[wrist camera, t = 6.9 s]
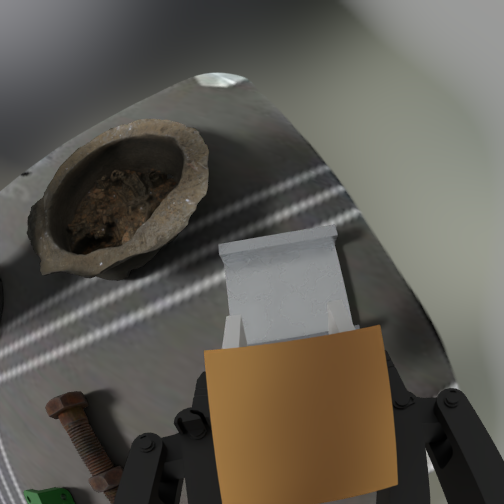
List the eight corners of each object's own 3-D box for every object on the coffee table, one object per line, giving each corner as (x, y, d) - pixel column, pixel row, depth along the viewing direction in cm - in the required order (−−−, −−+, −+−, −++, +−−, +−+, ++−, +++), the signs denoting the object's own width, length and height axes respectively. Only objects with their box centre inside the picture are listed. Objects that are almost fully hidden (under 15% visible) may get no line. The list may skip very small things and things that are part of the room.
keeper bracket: (238, 369, 29) (231, 368, 26) (224, 251, 35) (217, 238, 31) (355, 348, 29) (363, 345, 25) (329, 234, 34) (333, 219, 31)
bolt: (140, 501, 25) (78, 400, 31) (159, 498, 24) (89, 387, 29) (105, 520, 20) (40, 410, 26) (120, 521, 18) (46, 397, 24)
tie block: (262, 433, 17) (223, 510, 6) (254, 366, 18) (203, 350, 7) (334, 423, 16) (397, 484, 5) (325, 356, 18) (379, 324, 7)
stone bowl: (81, 336, 32) (28, 314, 24) (63, 200, 44) (31, 167, 36) (259, 243, 34) (242, 192, 26) (189, 126, 46) (170, 81, 37)
